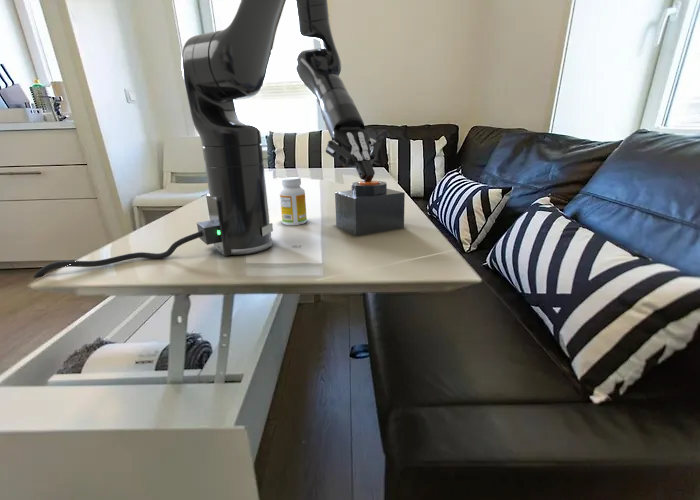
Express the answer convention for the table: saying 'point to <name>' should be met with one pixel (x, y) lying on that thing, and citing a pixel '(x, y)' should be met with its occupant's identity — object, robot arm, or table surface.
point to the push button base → (369, 209)
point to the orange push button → (368, 183)
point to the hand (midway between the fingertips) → (369, 178)
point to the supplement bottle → (293, 202)
